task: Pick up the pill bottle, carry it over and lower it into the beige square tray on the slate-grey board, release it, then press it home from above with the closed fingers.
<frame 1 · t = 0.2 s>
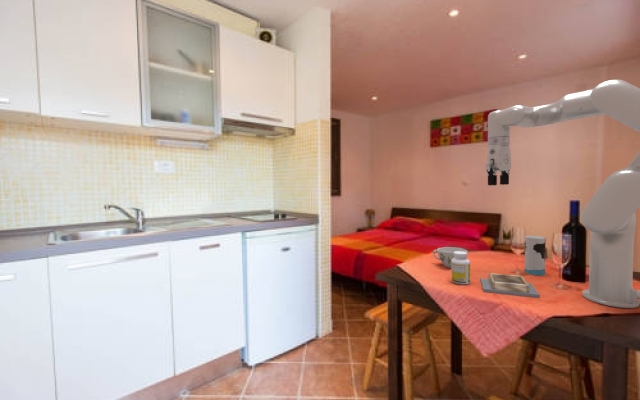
hand: (498, 184, 115), 37 cm above the table, tool pointing down, fingers open, 9 cm apart
dock board: (507, 288, 102), on the table
pill bottle: (460, 282, 110), on the table
beige square tray: (507, 282, 102), on the dock board, point 2 cm above the table
teacup: (449, 266, 131), on the table
milk carton: (534, 273, 117), on the table
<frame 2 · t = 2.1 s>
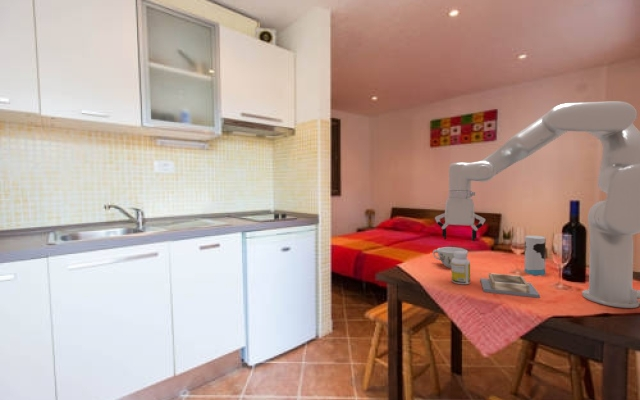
hand: (459, 239, 109), 17 cm above the table, tool pointing down, fingers open, 9 cm apart
nothing on the table moved.
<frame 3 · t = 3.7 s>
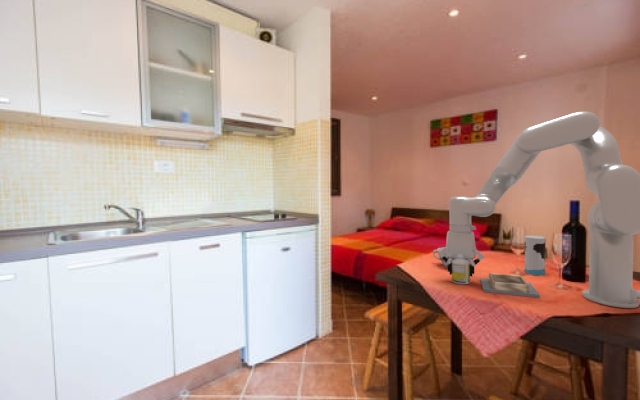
hand: (460, 274, 110), 3 cm above the table, tool pointing down, fingers closed on pill bottle, 6 cm apart
pill bottle: (460, 282, 110), on the table, touching gripper
everything else where it was.
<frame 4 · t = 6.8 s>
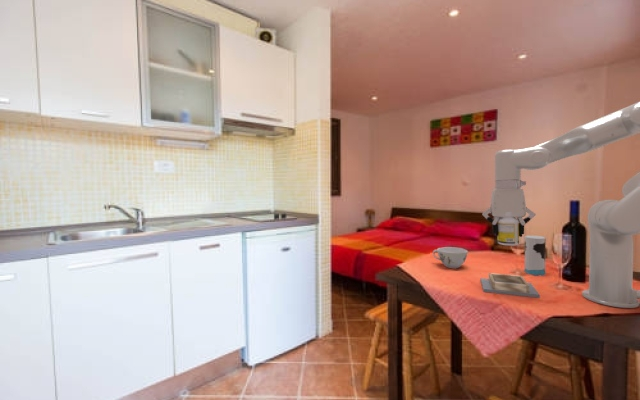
hand: (507, 235, 101), 19 cm above the table, tool pointing down, fingers closed on pill bottle, 6 cm apart
pill bottle: (508, 244, 101), point 16 cm above the table, touching gripper
everything else where it was.
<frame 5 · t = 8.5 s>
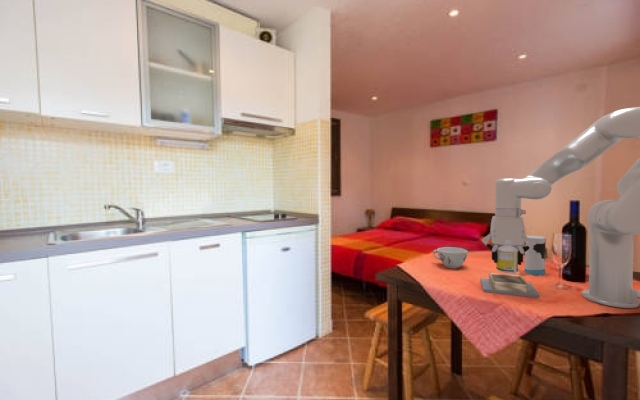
hand: (506, 262, 101), 9 cm above the table, tool pointing down, fingers closed on pill bottle, 6 cm apart
pill bottle: (506, 271, 102), point 6 cm above the table, touching gripper
everything else where it was.
when the fingers open (5 cm above the table, at t = 9.9 s): pill bottle moves 1 cm, resting on dock board.
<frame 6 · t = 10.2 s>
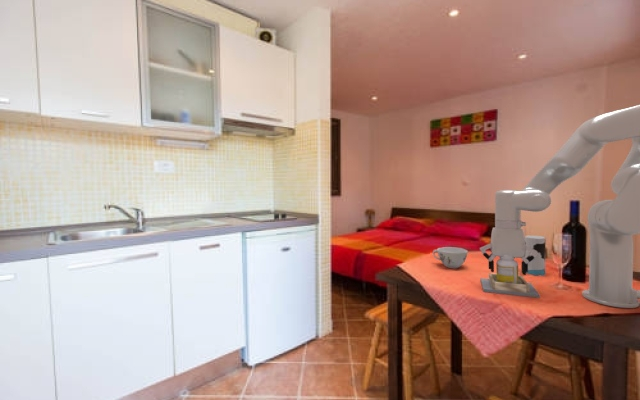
hand: (507, 272, 102), 6 cm above the table, tool pointing down, fingers open, 9 cm apart
pill bottle: (507, 286, 102), point 1 cm above the table, touching dock board
everything else where it was.
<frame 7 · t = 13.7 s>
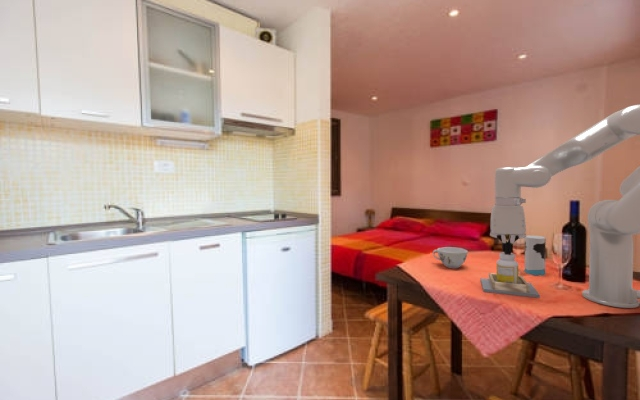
hand: (507, 253, 101), 13 cm above the table, tool pointing down, fingers closed
pill bottle: (507, 286, 102), point 1 cm above the table, touching dock board, gripper
everything else where it was.
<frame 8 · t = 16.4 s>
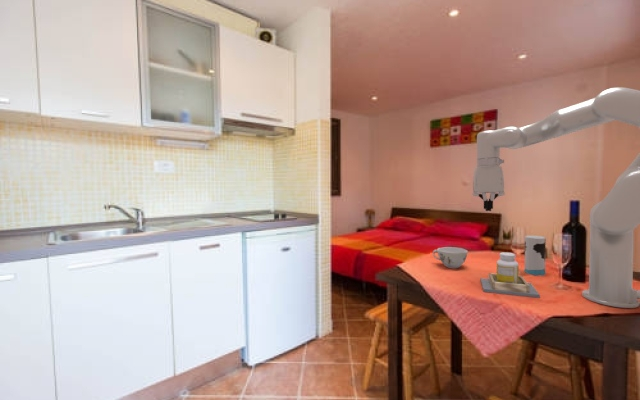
hand: (488, 210, 111), 27 cm above the table, tool pointing down, fingers closed
pill bottle: (507, 286, 102), point 1 cm above the table, touching dock board
everything else where it was.
at the end: pill bottle 0.0 cm from the beige square tray (horizontally); pill bottle point 0.8 cm above the table; pill bottle tilted 0° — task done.
